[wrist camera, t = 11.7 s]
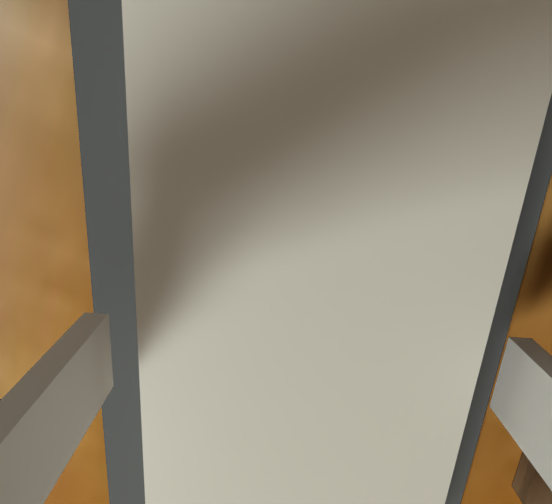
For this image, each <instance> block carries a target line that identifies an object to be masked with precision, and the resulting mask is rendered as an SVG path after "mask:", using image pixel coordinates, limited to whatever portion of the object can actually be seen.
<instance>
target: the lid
mask: <svg viewBox="0 0 552 504" xmlns="http://www.w3.org/2000/svg"><path fill="white" fill-rule="evenodd" d="M122 21H123V42H124V63H125V84H126V106H127V127H128V148H129V169H130V191H131V212H132V233H133V254H134V276H135V297H136V318H137V339H138V361H139V382H140V403H141V424H142V446H143V467H144V488H145V504H445V501H446V498H447V494H448V490H449V486H450V482H451V478H452V474H453V471H454V467H455V463H456V459H457V455H458V451H459V448H460V444H461V440H462V436H463V432H464V428H465V424H466V421H467V417H468V413H469V409H470V405H471V401H472V398H473V394H474V390H475V386H476V382H477V378H478V374H479V371H480V367H481V363H482V359H483V355H484V351H485V348H486V344H487V340H488V336H489V332H490V328H491V324H492V321H493V317H494V313H495V309H496V305H497V301H498V298H499V294H500V290H501V286H502V282H503V278H504V274H505V271H506V267H507V263H508V259H509V255H510V251H511V248H512V244H513V240H514V236H515V232H516V228H517V224H518V221H519V217H520V213H521V209H522V205H523V201H524V198H525V194H526V190H527V186H528V182H529V178H530V175H531V171H532V167H533V163H534V159H535V155H536V151H537V148H538V144H539V140H540V136H541V132H542V128H543V125H544V121H545V117H546V113H547V109H548V105H549V101H550V98H551V94H552V0H122Z"/></svg>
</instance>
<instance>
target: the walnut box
mask: <svg viewBox="0 0 552 504" xmlns="http://www.w3.org/2000/svg"><path fill="white" fill-rule="evenodd" d="M512 487H513V489H514V491H515V492H516V494H517V495H518V497H519V498H520V500H521V502H522V503H523V504H552V491H551V489H550V488H549V487H548V485H547V484H546V483H545V481H544V480H543V478H542V477H541V476H540V474H539V473H538V472H537V470H536V469H535V468H534V466H533V465H532V463H531V462H530V461H529V459H528V458H527V457H526V455H525V454H524V452H523V453H522V456H521V459H520V462H519V465H518V468H517V471H516V474H515V478H514V481H513V484H512Z"/></svg>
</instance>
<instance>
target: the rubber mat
mask: <svg viewBox="0 0 552 504" xmlns="http://www.w3.org/2000/svg"><path fill="white" fill-rule="evenodd" d="M68 8H69V20H70V32H71V44H72V56H73V68H74V80H75V92H76V104H77V116H78V128H79V140H80V152H81V164H82V176H83V188H84V200H85V212H86V224H87V236H88V248H89V260H90V272H91V284H92V296H93V308H94V313H102V314H108V315H109V329H110V343H111V357H112V371H113V385H114V386H113V388H112V389H111V391H110V393H109V394H108V396H107V398H106V399H105V401H104V403H103V404H102V416H103V428H104V440H105V452H106V464H107V476H108V488H109V500H110V504H145V488H144V467H143V446H142V424H141V403H140V382H139V361H138V339H137V318H136V297H135V276H134V254H133V233H132V212H131V191H130V169H129V148H128V127H127V106H126V84H125V63H124V42H123V21H122V0H68ZM551 173H552V94H551V98H550V101H549V105H548V109H547V113H546V117H545V121H544V125H543V128H542V132H541V136H540V140H539V144H538V148H537V151H536V155H535V159H534V163H533V167H532V171H531V175H530V178H529V182H528V186H527V190H526V194H525V198H524V201H523V205H522V209H521V213H520V217H519V221H518V224H517V228H516V232H515V236H514V240H513V244H512V248H511V251H510V255H509V259H508V263H507V267H506V271H505V274H504V278H503V282H502V286H501V290H500V294H499V298H498V301H497V305H496V309H495V313H494V317H493V321H492V324H491V328H490V332H489V336H488V340H487V344H486V348H485V351H484V355H483V359H482V363H481V367H480V371H479V374H478V378H477V382H476V386H475V390H474V394H473V398H472V401H471V405H470V409H469V413H468V417H467V421H466V424H465V428H464V432H463V436H462V440H461V444H460V448H459V451H458V455H457V459H456V463H455V467H454V471H453V474H452V478H451V482H450V486H449V490H448V494H447V498H446V501H445V504H460V503H461V499H462V496H463V492H464V489H465V485H466V481H467V478H468V474H469V470H470V467H471V463H472V460H473V456H474V452H475V449H476V445H477V442H478V438H479V434H480V431H481V427H482V423H483V420H484V416H485V413H486V409H487V405H488V402H489V398H490V394H491V391H492V387H493V384H494V380H495V376H496V373H497V369H498V365H499V362H500V358H501V355H502V351H503V347H504V344H505V340H506V336H507V333H508V329H509V326H510V322H511V318H512V315H513V311H514V307H515V304H516V300H517V297H518V293H519V289H520V286H521V282H522V278H523V275H524V271H525V268H526V264H527V260H528V257H529V253H530V249H531V246H532V242H533V239H534V235H535V231H536V228H537V224H538V221H539V217H540V213H541V210H542V206H543V202H544V199H545V195H546V192H547V188H548V184H549V181H550V177H551Z"/></svg>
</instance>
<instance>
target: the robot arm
mask: <svg viewBox="0 0 552 504" xmlns="http://www.w3.org/2000/svg"><path fill="white" fill-rule="evenodd" d="M113 386H114V385H113V371H112V357H111V343H110V329H109V315H108V314H102V313H84V314H83V315H82V316H81V317H80V318H79V319H78V320H77V321H76V322H75V323H74V324H73V325H72V326H71V327H70V328H69V329H68V330H67V331H66V332H65V333H64V335H63V336H62V337H61V338H60V339H59V340H58V341H57V342H56V343H55V344H54V345H53V346H52V347H51V348H50V349H49V350H48V351H47V352H46V353H45V354H44V355H43V356H42V357H41V359H40V360H39V361H38V362H37V363H36V364H35V365H34V366H33V367H32V368H31V369H30V370H29V371H28V372H27V373H26V374H25V375H24V376H23V377H22V378H21V379H20V380H19V382H18V383H17V384H16V385H15V386H14V387H13V388H12V389H11V390H10V391H9V392H8V393H7V394H6V395H5V396H4V397H3V398H2V399H0V504H44V502H45V500H46V499H47V497H48V495H49V494H50V492H51V490H52V489H53V487H54V485H55V484H56V482H57V480H58V479H59V477H60V475H61V474H62V472H63V470H64V468H65V467H66V465H67V463H68V462H69V460H70V458H71V457H72V455H73V453H74V452H75V450H76V448H77V447H78V445H79V443H80V442H81V440H82V438H83V436H84V435H85V433H86V431H87V430H88V428H89V426H90V425H91V423H92V421H93V420H94V418H95V416H96V415H97V413H98V411H99V410H100V408H101V406H102V404H103V403H104V401H105V399H106V398H107V396H108V394H109V393H110V391H111V389H112V388H113ZM490 407H491V409H492V410H493V411H494V413H495V414H496V416H497V417H498V418H499V420H500V421H501V422H502V424H503V425H504V427H505V428H506V429H507V431H508V432H509V433H510V435H511V436H512V437H513V439H514V440H515V442H516V443H517V444H518V446H519V447H520V448H521V450H522V451H523V452H524V454H525V455H526V457H527V458H528V459H529V461H530V462H531V463H532V465H533V466H534V468H535V469H536V470H537V472H538V473H539V474H540V476H541V477H542V478H543V480H544V481H545V483H546V484H547V485H548V487H549V488H550V489H551V491H552V356H551V355H550V354H549V353H548V352H547V351H545V350H544V349H543V348H542V347H541V346H540V345H539V344H537V343H536V342H535V341H534V340H533V339H532V338H517V337H509V338H508V342H507V345H506V349H505V353H504V356H503V360H502V363H501V367H500V371H499V374H498V378H497V381H496V385H495V389H494V392H493V396H492V399H491V403H490Z"/></svg>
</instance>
